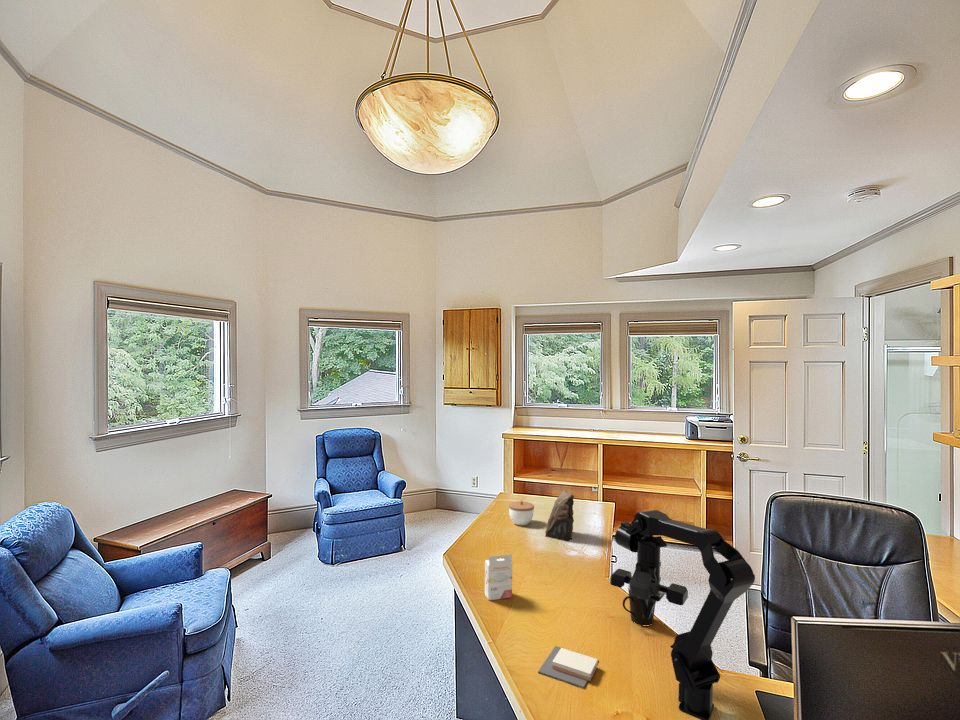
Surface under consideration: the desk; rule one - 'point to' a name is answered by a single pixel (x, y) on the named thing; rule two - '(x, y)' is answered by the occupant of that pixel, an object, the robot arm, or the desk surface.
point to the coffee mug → (637, 610)
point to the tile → (575, 664)
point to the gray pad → (548, 671)
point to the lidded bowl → (521, 512)
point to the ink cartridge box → (498, 577)
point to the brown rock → (561, 518)
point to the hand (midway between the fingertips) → (647, 618)
